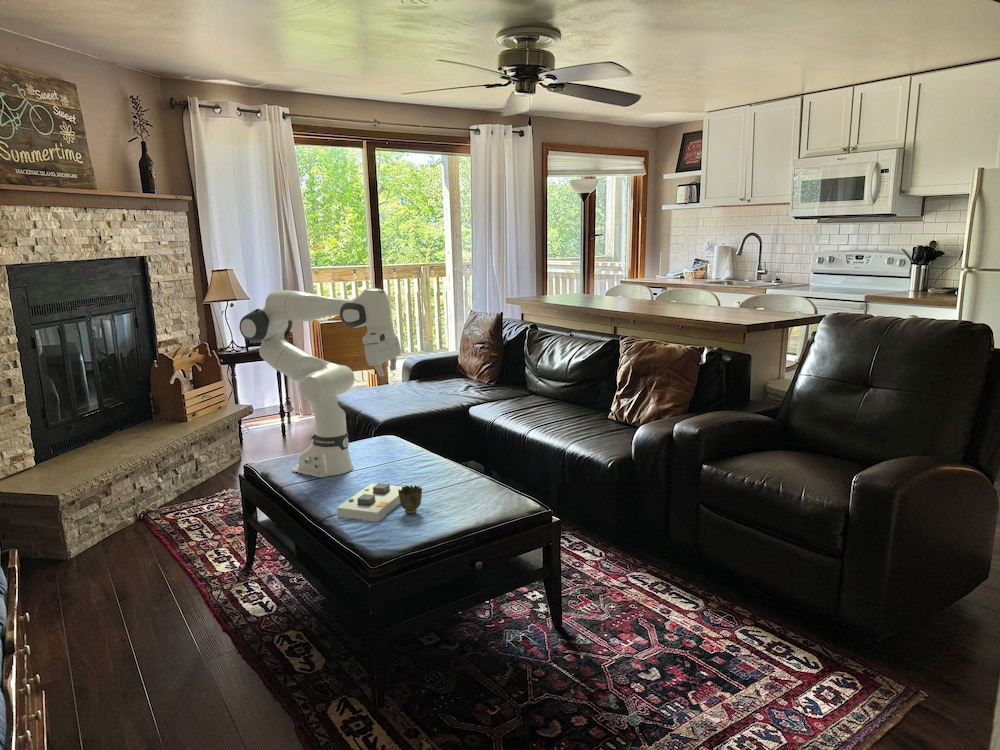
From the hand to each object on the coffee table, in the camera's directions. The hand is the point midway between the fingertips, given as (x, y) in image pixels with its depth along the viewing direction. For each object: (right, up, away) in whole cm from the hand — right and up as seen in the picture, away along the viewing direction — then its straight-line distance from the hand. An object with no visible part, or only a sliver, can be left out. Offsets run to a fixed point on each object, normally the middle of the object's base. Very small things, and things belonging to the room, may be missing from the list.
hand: (387, 373), depth 232 cm
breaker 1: (-3, -42, -24) cm, 49 cm away
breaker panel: (-1, -43, -19) cm, 47 cm away
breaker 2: (+1, -40, -14) cm, 43 cm away
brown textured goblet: (+12, -45, -25) cm, 52 cm away
